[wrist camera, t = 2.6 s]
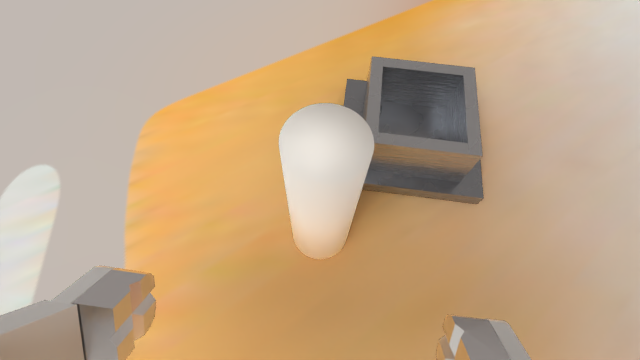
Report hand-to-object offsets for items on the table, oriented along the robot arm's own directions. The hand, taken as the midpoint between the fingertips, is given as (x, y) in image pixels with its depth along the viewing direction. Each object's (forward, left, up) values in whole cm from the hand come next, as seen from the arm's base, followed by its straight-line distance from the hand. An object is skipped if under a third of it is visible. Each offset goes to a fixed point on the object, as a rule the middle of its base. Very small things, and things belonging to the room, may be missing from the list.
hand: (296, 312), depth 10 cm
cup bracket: (-6, -14, -12) cm, 19 cm away
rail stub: (0, -6, -12) cm, 13 cm away
